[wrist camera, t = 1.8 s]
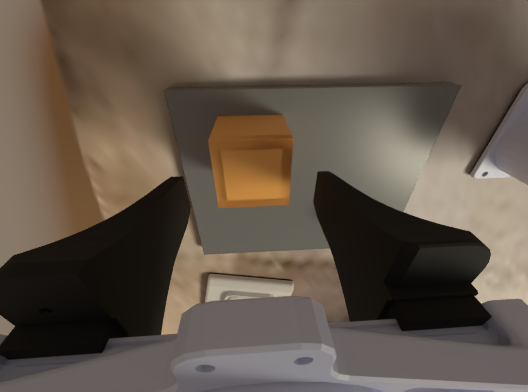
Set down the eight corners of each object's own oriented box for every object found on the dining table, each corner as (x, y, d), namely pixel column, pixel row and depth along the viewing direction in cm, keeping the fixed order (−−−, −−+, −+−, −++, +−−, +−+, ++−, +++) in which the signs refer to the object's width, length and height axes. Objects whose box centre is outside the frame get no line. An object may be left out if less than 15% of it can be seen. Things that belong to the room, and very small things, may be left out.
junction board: (450, 82, 16) (461, 85, 15) (383, 238, 26) (388, 245, 25) (168, 87, 15) (164, 90, 15) (205, 247, 25) (204, 254, 24)
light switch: (198, 344, 32) (204, 301, 24) (202, 314, 35) (209, 268, 28) (271, 347, 34) (298, 308, 26) (269, 318, 37) (293, 276, 30)
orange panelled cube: (283, 114, 16) (293, 138, 12) (280, 171, 19) (288, 205, 15) (217, 116, 16) (208, 140, 12) (224, 173, 18) (218, 208, 15)
